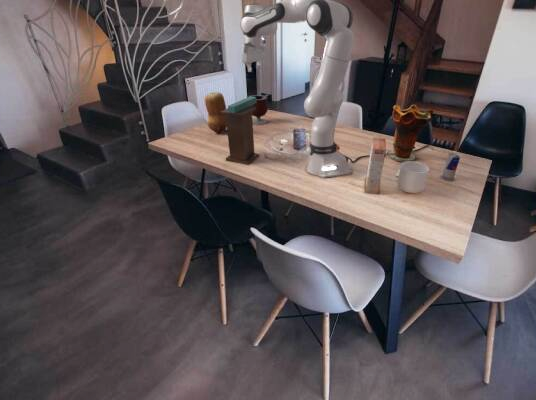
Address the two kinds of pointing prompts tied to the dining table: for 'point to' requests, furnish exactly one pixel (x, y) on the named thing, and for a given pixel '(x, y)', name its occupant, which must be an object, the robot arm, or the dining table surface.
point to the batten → (241, 104)
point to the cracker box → (375, 165)
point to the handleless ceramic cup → (412, 176)
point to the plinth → (240, 135)
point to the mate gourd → (260, 109)
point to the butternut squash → (216, 112)
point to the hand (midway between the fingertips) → (254, 70)
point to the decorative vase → (407, 131)
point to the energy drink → (450, 166)
